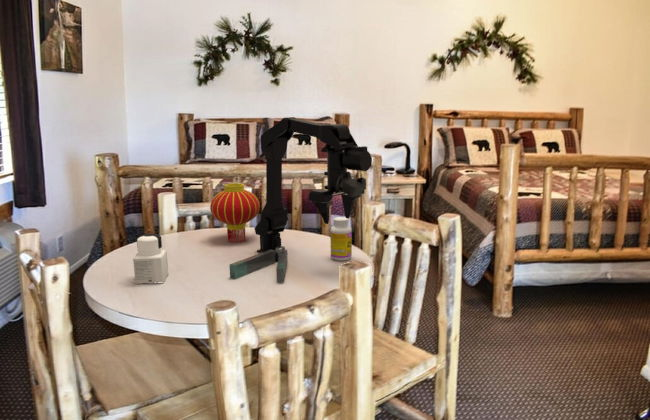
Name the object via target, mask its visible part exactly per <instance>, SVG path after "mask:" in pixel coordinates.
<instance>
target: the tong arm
mask: <svg viewBox="0 0 650 420" xmlns="http://www.w3.org/2000/svg"><path fill="white" fill-rule="evenodd" d="M288 257H289V256H288V249H285V250H281V251H280V255H279V260H278V263H277V262H276V263H277V264H276V271H275V272H276V283H285V279H286V273H287V269H288V268H287V267H288V263H289V259H288Z"/></svg>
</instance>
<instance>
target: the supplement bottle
mask: <svg viewBox="0 0 650 420" xmlns="http://www.w3.org/2000/svg"><path fill="white" fill-rule="evenodd" d="M349 219H350V218H346V217H345V216H344V217H343V216H337V217H334V218H333V224H334V225H333V226H331V228H330V258H331V259H332V260H333V261H337V260H338V261H340V262H343V261H349V260H350V259H352V250H353V247H352V246H353V245H352V243H353V242H352V240H353V239H352V237H353V236H352V235H353V232H352V227H351V226H349V225H348V224H349V221H350V220H349Z"/></svg>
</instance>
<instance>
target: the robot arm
mask: <svg viewBox="0 0 650 420" xmlns="http://www.w3.org/2000/svg"><path fill="white" fill-rule="evenodd" d="M294 133H296V134H301V135H305V136H310V137H314V138H316V139H318V140H319V141H320V142H321V143H323V144H325V145H324V147H322V149H320V152H322V153H326V161H327V162H326V163H327V164H326V168H327V169H326V171H323V172H324V174H323V176H326V177H327V178H326V180H327V181H326V182H327V183H326V184H327V185H324V186H323V187H324V189H321V188H318V189H312V190H310V191H309V192H308V201H311V203H313V204H314V205H315V207H316V209H317V210H318V211H319V214H320V216H321V218H322V220H323V222H324V224H326V225H329V224H330V223H329V222H330V207H331V206H332V204H333V203H334V201H332V200H333V197H336V196H341V201H342V206H343V211H344V212H343V213H344V217H345V218H348V219H350V217H351V215H352V214H351V213H352V210H353V208H354V206H355V203H356V201H357V200H358V199H359V198H360V197H362V195H365V190H366V189H367V187H366V186H367V180H366V178H364V177H363V176H362V177H361V176H360V177H358V178H352V176H351V175H352V174H351V172H350V171H348V170H351V171H359V172H367V171H369V170H370V169H371V166H372V163H373V157H372V156H371V152H369V150H368V146H366V145H363V146H358V144H357V142H356V140H355V139H354V137H353V135H352V133H351V131H350V128H349V125H347V124H345V123H335V124H334V123H330V124H329V123H327V124H326V123H325V124H323V123H319V122H315V121H309V120H305V119H301V118H297V117H295V116H291V117H283V118H282V119H280V121H278V122H277V123H276V124H274V125H272V126H271V127H269V128H267V130H266V131H264V132H263V133H262V134H260V148H261V153H262V154H263V155H264V158H265V162H266V168H265V169H266V170H265V174H266V175H265V182H266V183H265V184H266V185H265V187H266V188H265V190H266V191H265V194H266V195H265V198H266V199H265V205H264V207H263V208H262V210H261V214H260V220H259V222H258V223H257V224H256V226H254V233H255V235H258V236H259V248H258V249H257V250H256V252H258V253H262V252H265V251H268V250H270V249H271V250H275V251H276V249H275V248H276V247H278V246H282V237H281V232H282V233H283V232H284V231H285V228H286V226H287V224H288V221H289V209H288V208H286V207H284V204H283V202H282V201H283V199H282V198H283V196H282V194H283V193H282V192H283V191H282V190H283V187H282V185H283V181H282V180H283V158H284V156H285V154H286V152H287V149H288V143H289V142H290V140H291V139H292V138H293V137H294V135H295V134H294Z"/></svg>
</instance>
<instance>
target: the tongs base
mask: <svg viewBox="0 0 650 420" xmlns="http://www.w3.org/2000/svg"><path fill="white" fill-rule="evenodd" d="M275 249H276V251H275V250H271V249H270V250H268V251H265V252H259V253H258V254H254V255H251V256H249V257H247V258H244V259H240V260H238V261H235V262H232V263H229V266H228V267H229V279H232V280H233V279H234V280H237V279H239V278H241V277H245V276H248V275H250V274H252V273H254V272H257V271H259V270H262V269H264V268H266V267H269V266H271V265H274V264H276V263H278V260H279V255H280V251H281V250H286V246H284V245H281V246H278V247H276V248H275Z"/></svg>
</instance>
